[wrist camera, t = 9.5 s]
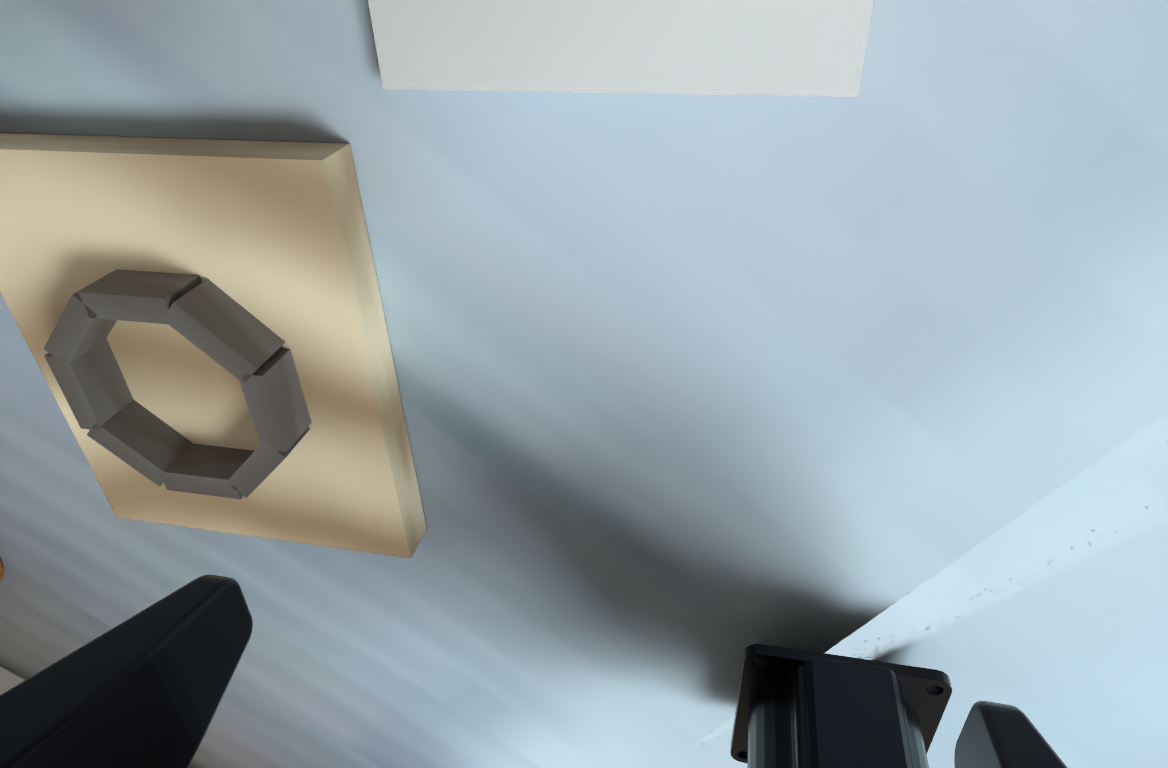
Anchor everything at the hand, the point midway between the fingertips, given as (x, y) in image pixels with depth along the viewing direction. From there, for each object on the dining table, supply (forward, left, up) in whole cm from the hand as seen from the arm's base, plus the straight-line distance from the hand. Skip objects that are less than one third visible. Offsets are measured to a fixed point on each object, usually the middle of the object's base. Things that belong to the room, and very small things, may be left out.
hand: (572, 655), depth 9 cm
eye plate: (-5, +15, -13) cm, 20 cm away
